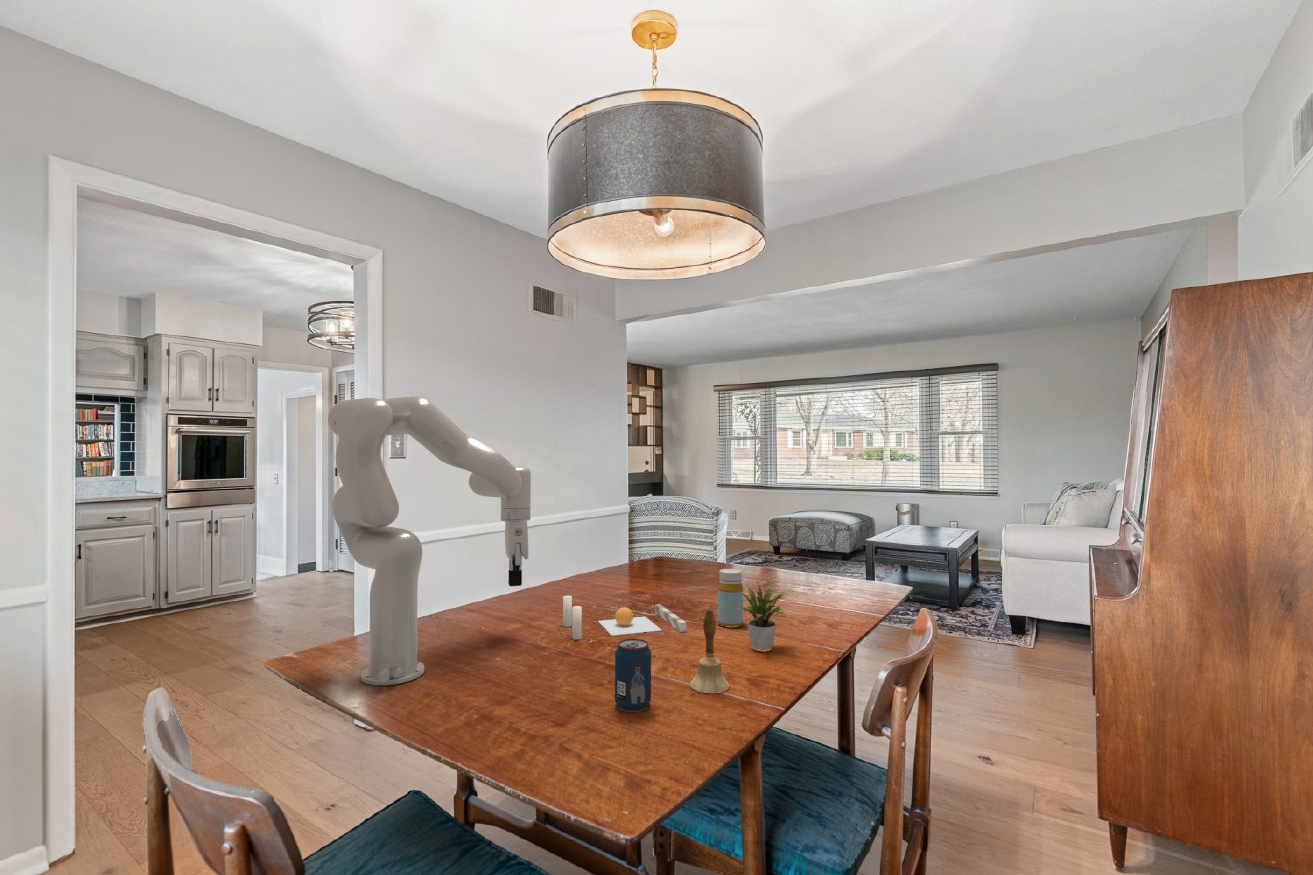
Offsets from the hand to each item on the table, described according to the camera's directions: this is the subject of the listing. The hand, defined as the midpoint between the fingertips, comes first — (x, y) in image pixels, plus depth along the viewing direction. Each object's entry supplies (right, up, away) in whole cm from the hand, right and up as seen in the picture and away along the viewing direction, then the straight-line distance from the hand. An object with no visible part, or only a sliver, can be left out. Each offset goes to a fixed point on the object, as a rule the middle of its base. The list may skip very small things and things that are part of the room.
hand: (515, 585), depth 160 cm
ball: (+28, -11, +11) cm, 32 cm away
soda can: (+32, -13, -42) cm, 54 cm away
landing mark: (+29, -14, +10) cm, 34 cm away
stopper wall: (+40, -14, +15) cm, 45 cm away
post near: (+16, -14, -1) cm, 21 cm away
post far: (+12, -14, +11) cm, 21 cm away
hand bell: (+48, -14, -32) cm, 59 cm away
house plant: (+63, -14, -9) cm, 65 cm away
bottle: (+57, -14, +12) cm, 60 cm away
